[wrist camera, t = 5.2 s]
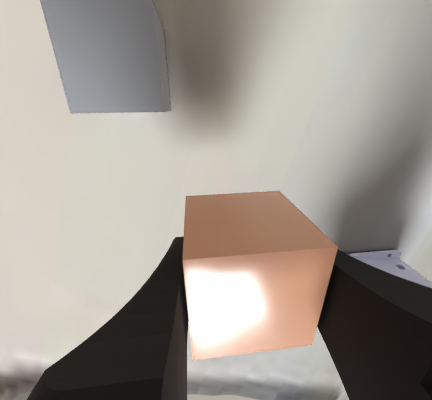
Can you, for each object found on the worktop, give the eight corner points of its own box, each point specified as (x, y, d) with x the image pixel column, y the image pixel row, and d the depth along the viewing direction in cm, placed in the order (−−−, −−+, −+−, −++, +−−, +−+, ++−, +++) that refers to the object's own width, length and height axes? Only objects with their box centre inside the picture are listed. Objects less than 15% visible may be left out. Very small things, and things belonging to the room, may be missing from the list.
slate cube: (164, 31, 14) (151, -3, 10) (171, 110, 17) (163, 111, 12) (87, 29, 14) (38, -7, 9) (104, 111, 16) (70, 113, 12)
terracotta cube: (279, 190, 11) (338, 246, 7) (271, 264, 13) (312, 344, 9) (185, 196, 11) (182, 260, 6) (192, 271, 13) (192, 360, 8)
